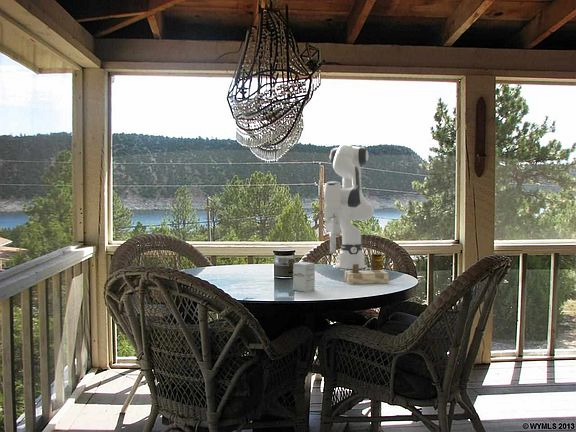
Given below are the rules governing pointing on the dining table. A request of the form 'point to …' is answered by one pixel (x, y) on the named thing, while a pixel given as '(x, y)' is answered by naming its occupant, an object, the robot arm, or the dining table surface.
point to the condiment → (376, 262)
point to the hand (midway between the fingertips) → (332, 241)
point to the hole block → (366, 277)
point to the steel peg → (332, 245)
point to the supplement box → (303, 276)
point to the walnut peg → (355, 268)
